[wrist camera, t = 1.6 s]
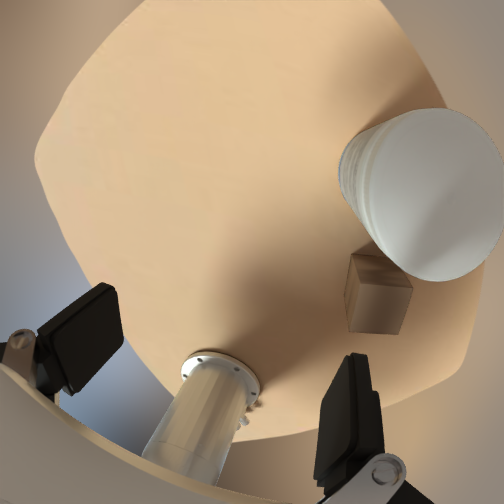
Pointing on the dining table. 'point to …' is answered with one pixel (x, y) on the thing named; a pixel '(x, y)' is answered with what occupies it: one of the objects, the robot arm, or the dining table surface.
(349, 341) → the dining table surface
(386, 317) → the walnut block
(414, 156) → the supplement tub
